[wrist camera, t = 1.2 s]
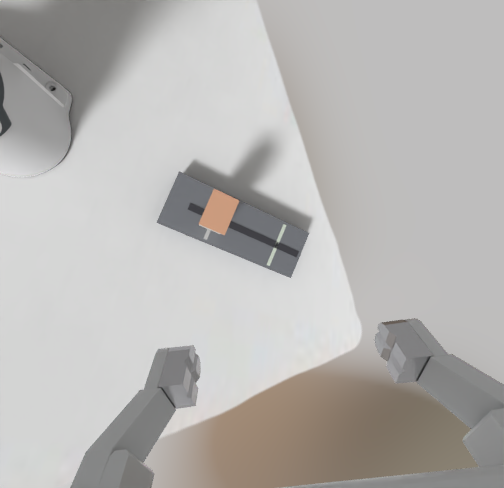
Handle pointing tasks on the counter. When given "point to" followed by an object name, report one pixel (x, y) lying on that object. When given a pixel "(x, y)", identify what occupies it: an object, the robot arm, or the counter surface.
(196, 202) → the fader console
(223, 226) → the fader
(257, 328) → the counter surface
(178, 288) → the counter surface
